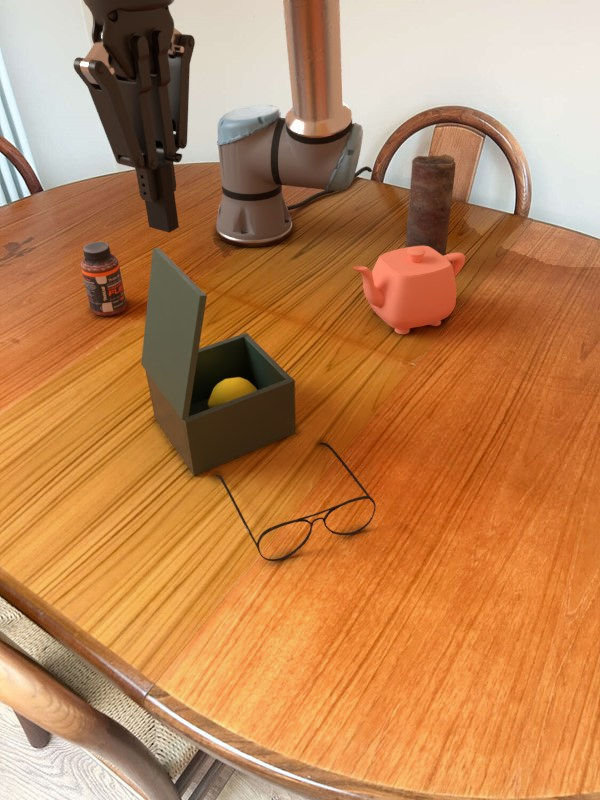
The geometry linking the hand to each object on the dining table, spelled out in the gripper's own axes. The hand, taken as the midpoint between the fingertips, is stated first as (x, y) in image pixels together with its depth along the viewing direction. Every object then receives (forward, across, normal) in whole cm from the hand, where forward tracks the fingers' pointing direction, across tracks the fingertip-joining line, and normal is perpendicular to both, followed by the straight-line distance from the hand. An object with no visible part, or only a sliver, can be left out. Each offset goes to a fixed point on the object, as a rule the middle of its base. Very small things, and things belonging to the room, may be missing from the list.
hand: (164, 226), depth 67 cm
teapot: (+29, +40, -11) cm, 51 cm away
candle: (+29, +58, -7) cm, 66 cm away
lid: (+13, -1, 0) cm, 13 cm away
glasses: (+29, -3, -17) cm, 34 cm away
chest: (+29, +4, -2) cm, 29 cm away
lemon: (+29, +6, -2) cm, 29 cm away
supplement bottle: (+29, +17, +32) cm, 47 cm away
